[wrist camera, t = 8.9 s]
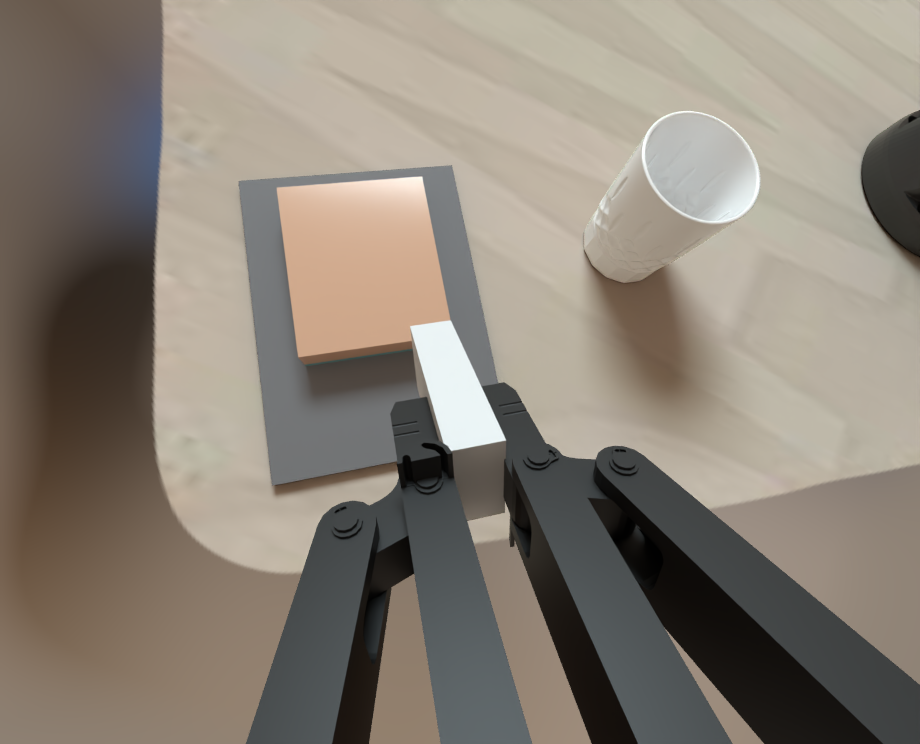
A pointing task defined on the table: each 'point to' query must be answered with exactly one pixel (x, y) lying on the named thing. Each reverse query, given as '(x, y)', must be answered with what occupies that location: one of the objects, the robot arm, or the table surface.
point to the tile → (360, 267)
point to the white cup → (672, 196)
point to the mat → (358, 380)
